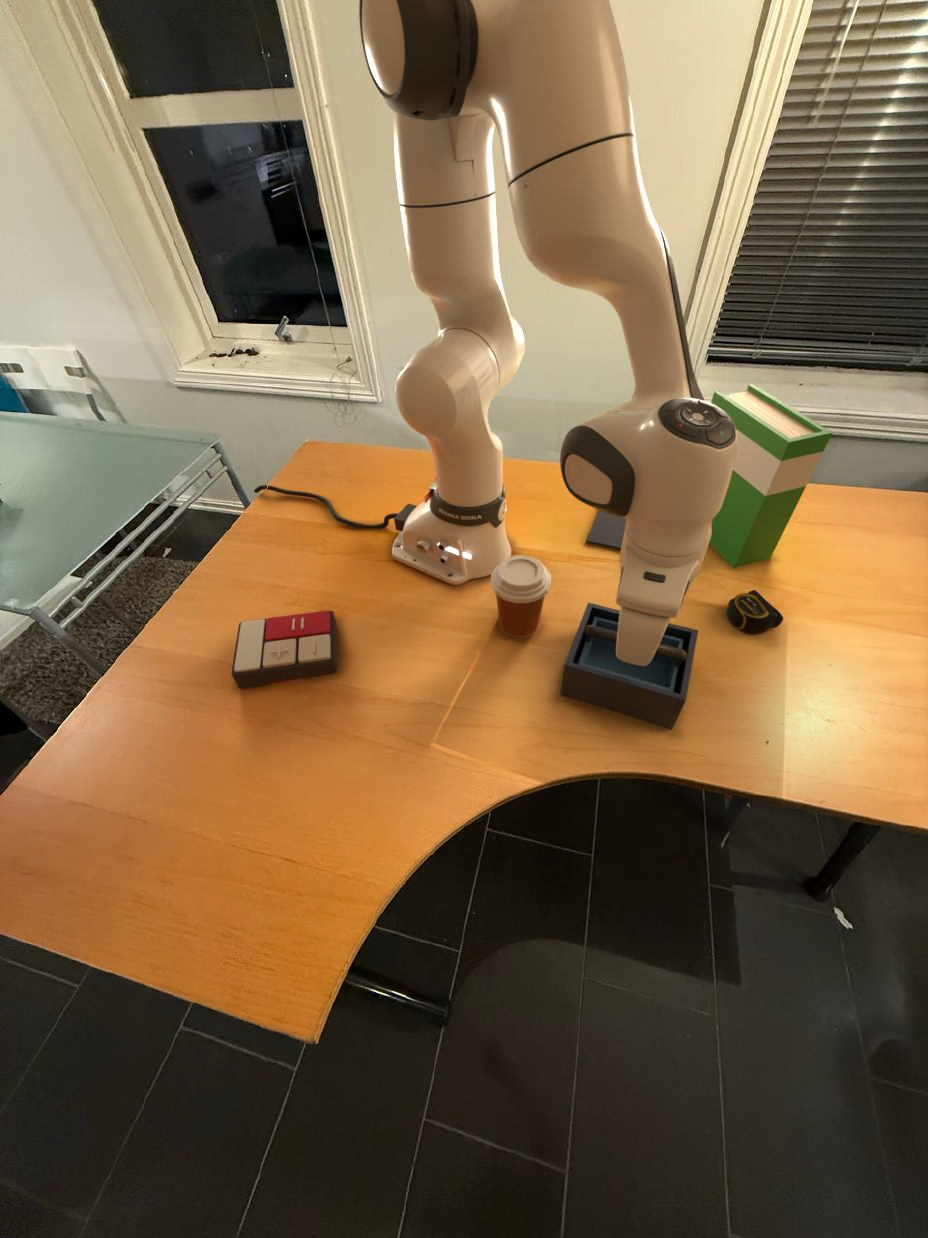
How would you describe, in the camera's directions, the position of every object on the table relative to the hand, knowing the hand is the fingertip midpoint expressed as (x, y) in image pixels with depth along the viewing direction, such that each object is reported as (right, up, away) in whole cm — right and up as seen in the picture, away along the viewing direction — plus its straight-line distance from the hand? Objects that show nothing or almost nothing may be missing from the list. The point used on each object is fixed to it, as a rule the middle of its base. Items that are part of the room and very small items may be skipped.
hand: (639, 632), depth 69 cm
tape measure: (+23, +2, +15) cm, 27 cm away
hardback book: (+25, +18, +30) cm, 43 cm away
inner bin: (0, -7, +8) cm, 10 cm away
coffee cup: (-14, +1, +17) cm, 22 cm away
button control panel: (-51, -4, +15) cm, 53 cm away
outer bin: (0, -7, +8) cm, 11 cm away
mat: (+10, +18, +31) cm, 37 cm away
